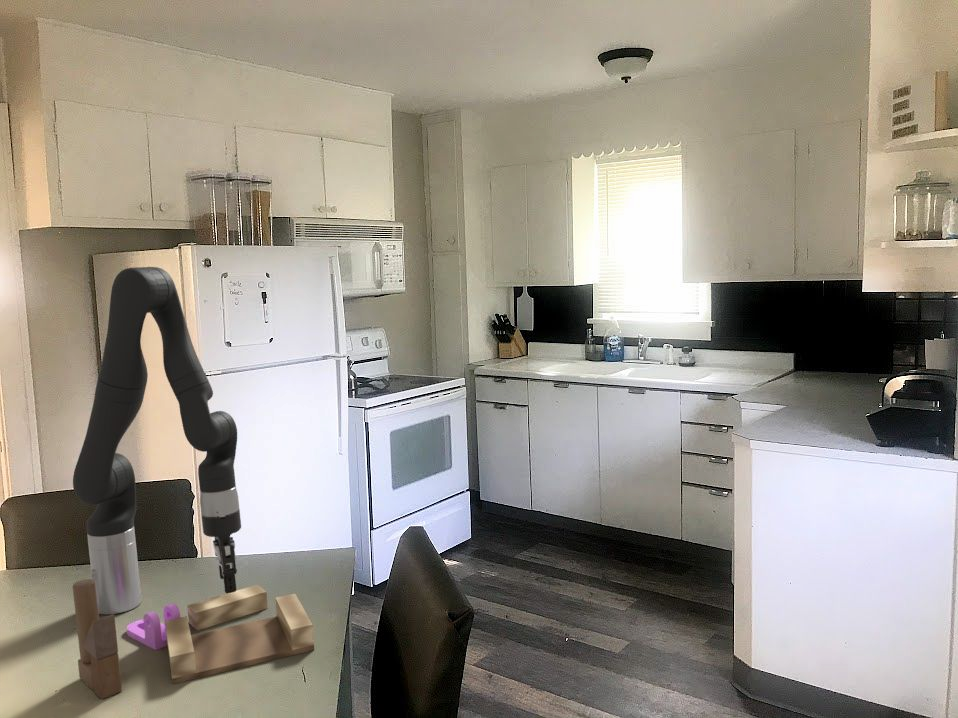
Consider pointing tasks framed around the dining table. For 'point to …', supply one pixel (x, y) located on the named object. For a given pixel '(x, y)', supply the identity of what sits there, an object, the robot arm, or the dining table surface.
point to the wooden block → (96, 642)
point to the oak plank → (227, 607)
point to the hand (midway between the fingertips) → (228, 584)
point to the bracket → (153, 628)
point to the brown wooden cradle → (238, 642)
